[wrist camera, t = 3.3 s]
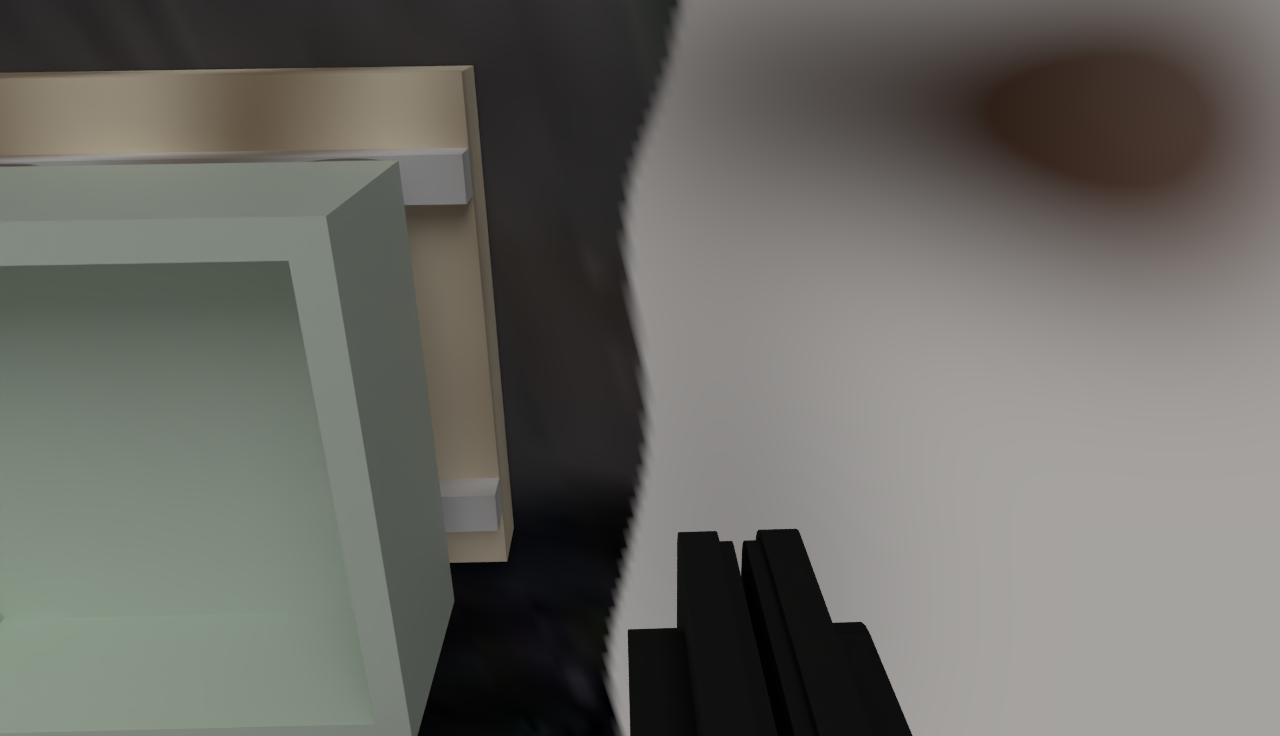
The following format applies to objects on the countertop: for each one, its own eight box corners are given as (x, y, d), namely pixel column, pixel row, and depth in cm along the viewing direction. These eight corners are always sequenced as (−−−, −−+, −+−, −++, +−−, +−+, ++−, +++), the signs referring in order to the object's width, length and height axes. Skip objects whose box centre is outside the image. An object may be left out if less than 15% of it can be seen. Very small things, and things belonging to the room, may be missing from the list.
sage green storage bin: (423, 141, 17) (325, 215, 11) (468, 546, 21) (413, 748, 15) (-71, 149, 17) (-412, 228, 11) (69, 555, 21) (-132, 761, 15)
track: (473, 65, 19) (454, 75, 16) (513, 527, 23) (503, 580, 21) (-556, 81, 18) (-709, 93, 16) (-299, 545, 23) (-389, 600, 21)
